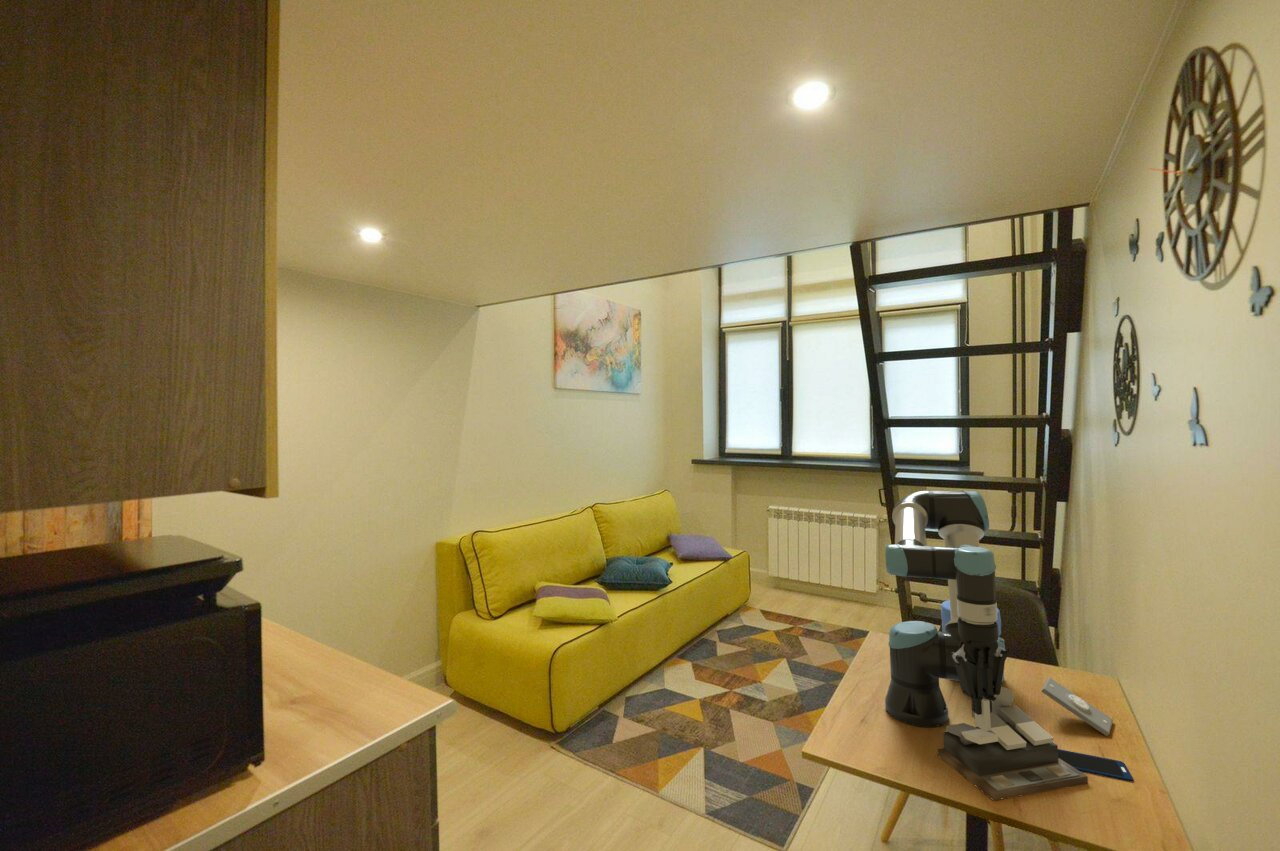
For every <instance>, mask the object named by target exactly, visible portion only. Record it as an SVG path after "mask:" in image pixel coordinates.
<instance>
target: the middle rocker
mask: <svg viewBox="0 0 1280 851" xmlns="http://www.w3.org/2000/svg"><path fill="white" fill-rule="evenodd" d="M971 717H972V718H973V719H974V720H975V713H974V712H973V711H972V712H971ZM990 721H991V731H987V732H990V733H993V734H996V735H997V736H998V740H999V741H998V742H999V743H1000V744H1001V745H1002V746H1003V747H1004V748H1005V749H1006V750H1011V749H1017V748H1023V747H1026V743H1027V742H1026V741H1025V740H1023V739H1022V738H1021V737H1020V736H1019V735H1018V734H1017V733H1016V732H1015V731H1014V730H1012V729H1011V728H1010V727H1009V726H1008V725H1007V724H1006V723H1005V722H1004V721H1003V720H1001V719H1000V718H999V717H998V716H997V715H996V714H995V713H994V712H993V711H992V713H990Z"/></svg>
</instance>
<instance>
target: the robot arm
mask: <svg viewBox="0 0 1280 851" xmlns="http://www.w3.org/2000/svg"><path fill="white" fill-rule="evenodd" d="M988 515H989V512H988V509H987V505H986V502H985V500H984V497H983V495H982V494H981V493H980V492H978V491H974V490H973V491H972V490H970V491H969V490H964V489H962V490H918V491H915V492H911V493H909V494H907V495H905V496H903V497H902V498H901V499H900V500H898V501H897V503H896V504H895V505H894V507H893V509H892V516H891V519H892V522H893V524H894V526H895V527H894V528H895V530H894V544H887V545H886V546H885V550H884V551H885V552H884V556H885V557H884V558H885V569H886V573H888V574H889V575H893V576H900V577H908V578H909V577H910V578H928V579H940V580H947V586H948V587H947V588H948V598H949V599H948V600H950V613H951V620H950V621H949V622H948V623H947V624H946V625H945V631H946V632H942V630H941V631H940V630H938V628H937V627H936V625H935V624H933V623H931V622H926V621H923V620H922V621H921V620H907V621H902V622H899V623H895V624H893V626H891V627H890V629H889V632H888V633H889V634H888V636H889V638H888V640H889V641H888V648H889V657H890V658H889V661H890V662H889V663H890V664H889V665H890V681H889V682H890V683H889V686H888V688H887V693H886V695H885V698H884V702H885V704H884V706H885V707H884V708H885V710H886V712H887V711H888V712H889V713H888V712H887V713H888V714H889V715H890V714H891V715H892V716H891V715H890V716H891V717H893V718H894V719H895V720H898V721H900V722H903V723H905V724H908V725H912V726H917V727H923V728H924V727H925V728H927V727H929V728H930V727H931V728H932V727H933V728H934V727H939V726H942V725H944V724H946V723H947V722H948V721H949V708H948V705H947V703H946V700H945V698H944V695H943V693H942V690H941V687H940V679H944V680H950V681H951V680H952V681H957V682H959V681H960V682H959V685H960V688H961V692H962V694H963V695H965V696H967V697H969V698H970V699H971V710H972V712H974V713H975V719H974V725H975V727H979V728H981V729H982V730H984V731H991V721H990V713H992V701H995V700H996V697H994V695H999V694H1000V691H1001V686H1002V683H1003V682H1002V680H1003V675H1004V676H1005V674H1004V673H1005V663H1006V660H1007V658H1008V656H1009V654H1010V653H1009V650H1007V649H1006V646H1005V639H1004V638H1002V637H1000V636H999V634H998V624H997V622H996V621H997V619H998V618H997V608H998V605H997V604H998V603H997V601H998V600H997V589H996V588H997V584H996V583H997V582H996V580H997V579H996V568H997V565H996V563H995V562H996V561H995V556H994V552H993V551H992V550H991V549H988V548H985V547H982V546H980V541H981V539H982V538H984V536H985V532H987V531H989V530H990V519H989V516H988ZM926 529H927V530H937V533H938V535H939V537H940V538H941V539H943V540H944V546H931V545H927V536H926ZM1003 681H1004V680H1003Z"/></svg>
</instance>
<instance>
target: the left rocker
mask: <svg viewBox="0 0 1280 851" xmlns="http://www.w3.org/2000/svg"><path fill="white" fill-rule="evenodd" d="M976 727H977V726H973V725H970V724H967V723H965V722H962V723H961V722H960V723H955V724H948V725H945V729H946V732H949V733H952V734H954V735H957V736H959V737H960V741H961V742H962V744H964V745H967V744H973V743H977V744H985V743H991V742H997V741H999V740H998V736H997V735H996V734H993V733H990V732H987V731H984V730H982V729H979V728H976Z"/></svg>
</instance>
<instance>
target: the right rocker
mask: <svg viewBox="0 0 1280 851" xmlns="http://www.w3.org/2000/svg"><path fill="white" fill-rule="evenodd" d="M998 713H999V714H1000V715H1001V716H1002V717H1003V718H1004V719H1005V720H1007V721H1008V722H1009V723H1010V724H1011V725H1012V726H1011V729H1012V730H1014V731H1015V732H1016V733H1017V734H1018V735H1019V734H1022V735H1023V736H1024V737H1025V738H1027V739H1028V740H1029V741H1030V742H1031V743H1032V744H1033V745H1034V746H1035V745H1041V744H1046V743H1052V742H1053V743H1054V739H1055V738H1054V737H1053V736H1052V735H1051V734H1050V733H1049V732H1048V731H1046V730H1045V729H1044V728H1043V727H1042V726H1041V725H1039V724H1038V723H1037V722H1036V721H1035V720H1033V719H1032V718H1031V717H1030V716H1029V715H1028V714H1026V713H1025V712H1024V711H1023V710H1022V709H1021V708H1019V707H1018V706H1017V705H1016V704H1015V705H1010V706H1008V707H1002V708H998Z"/></svg>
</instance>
